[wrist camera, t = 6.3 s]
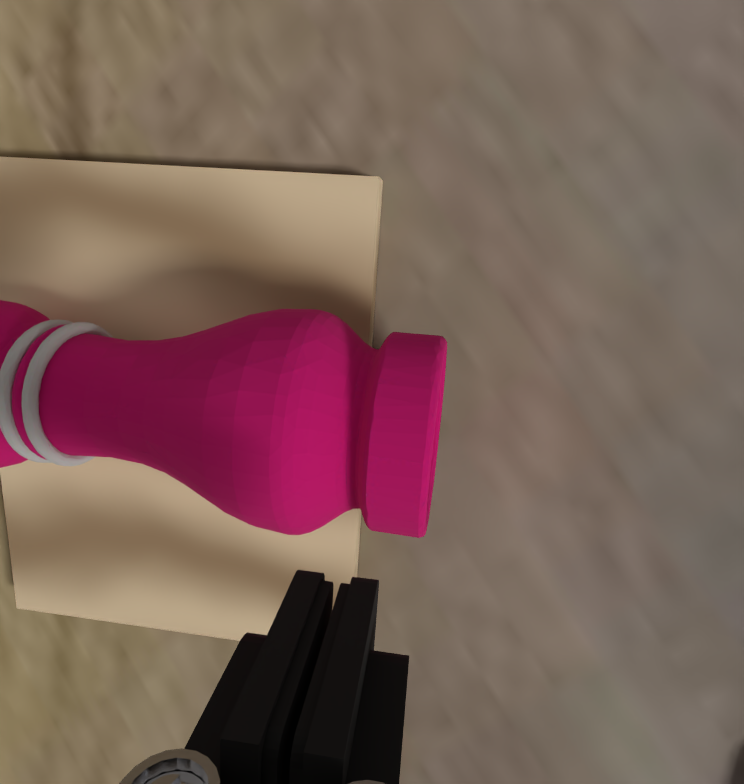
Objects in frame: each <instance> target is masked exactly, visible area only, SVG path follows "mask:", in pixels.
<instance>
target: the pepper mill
mask: <svg viewBox="0 0 744 784" xmlns="http://www.w3.org/2000/svg"><path fill="white" fill-rule="evenodd" d="M446 354H447V341H446V340H445V338H443V337H442V336H435V335H423V334H411V333H399V332H393V333H391V334H390V335H389V336H388V337H387V338H386V340H385V341H384V343H383V344H382V346H381V348H380V349H374V348H372V347H371V346H369V345H368V344H367V343H365V342H364V341H363V340H362V339H361V338H360V337H359V336H358V335H357V334H356V333H355V332H354V330H353V329H352V328H351V327H350V326H349V325H348V324H347V323H345V322H344V321H343V320H341V319H340V318H339V317H338V316H336V315H334V314H332V313H329V312H326V311H322V310H317V309H278V310H272V311H267V312H261V313H256V314H250V315H247V316H244V317H241V318H238V319H235V320H232V321H230V322H227V323H224V324H221V325H218V326H215V327H212V328H209V329H206V330H203V331H200V332H196V333H193V334H190V335H186V336H183V337H176V338H170V339H163V340H124V339H118V338H113V336H112V335H111V334H110V333H108V332H107V331H106V330H105V329H103V328H102V327H100V326H98V325H96V324H93V323H89V322H74V323H73V322H70V321H68V320H59V319H57V320H50V319H49V318H48V317H46V316H45V315H43V314H41V313H40V312H38V311H36V310H35V309H33V308H30V307H28V306H26V305H23V304H19V303H16V302H10V301H3V300H0V468H2V467H6V466H11V465H15V464H19V463H22V462H24V461H26V460H31V461H34V462H40V463H54V464H56V465H61V466H76V465H81V464H83V463H85V462H87V461H89V460H91V459H93V458H94V457H112V458H116V459H121V460H126V461H131V462H136V463H141V464H144V465H146V466H149V467H152V468H154V469H157V470H159V471H162V472H164V473H166V474H168V475H170V476H171V477H173V478H174V479H176V480H178V481H179V482H181V483H183V484H184V485H186V486H187V487H189V488H190V489H192V490H193V491H194V492H196V493H197V494H199V495H200V496H202V497H203V498H205V499H206V500H208V501H209V502H210V503H212V504H213V505H215V506H216V507H218V508H219V509H221V510H222V511H223V512H225V513H227V514H229V515H231V516H233V517H235V518H237V519H239V520H241V521H243V522H245V523H247V524H250V525H252V526H255V527H258V528H262V529H266V530H271V531H275V532H279V533H283V534H287V535H302V534H306V533H310V532H312V531H314V530H316V529H319V528H321V527H322V526H324V525H326V524H327V523H329V522H330V521H332V520H333V519H335V518H337V517H338V516H340V515H341V514H343V513H344V512H347V511H349V510H352V509H361V512H362V515H363V518H364V521H365V523H366V525H367V527H368V528H369V529H370V530H372V531H378V532H385V533H391V534H398V535H404V536H411V537H418V538H419V537H423V536H424V535H425V534H426V530H427V525H428V519H429V513H430V505H431V498H432V491H433V484H434V476H435V467H436V458H437V450H438V440H439V431H440V422H441V412H442V402H443V392H444V381H445V368H446Z"/></svg>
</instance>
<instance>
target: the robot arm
mask: <svg viewBox="0 0 744 784" xmlns="http://www.w3.org/2000/svg"><path fill="white" fill-rule="evenodd" d="M333 587H334V585H333V582H331V581H325V575H324V573H320V572H312V571H305V570H297V571H296V573H295V575H294V577H293V579H292V581H291V584H290V586H289V588H288V590H287V592H286V595H285V597H284V599H283V601H282V603H281V606H280V608H279V610H278V612H277V614H276V617H275V619H274V621H273V623H272V625H271V628H270V630H269V632H268V634H267V635H262V634H255V633H248V632H247V633H246V634H244V636H243V637H242V639H241V640H240V642H239V644H238V646H237V648H236V650H235V652H234V654H233V656H232V658H231V660H230V661H229V663H228V665H227V667H226V669H225V671H224V673H223V675H222V677H221V679H220V681H219V683H218V685H217V687H216V689H215V690H214V692H213V694H212V696H211V698H210V700H209V702H208V704H207V706H206V708H205V710H204V712H203V714H202V716H201V718H200V719H199V721H198V723H197V725H196V727H195V729H194V731H193V733H192V735H191V737H190V739H189V741H188V743H187V745H186V747H185V749H174V750H166V751H163V752H161V753H158V754H156V755H153V756H150V757H149V758H147V759H146V760H144V761H143V762H141V763H140V764H138V765H137V766H135V767H134V768H133V769H132V770H131V771H130V772H129V773H128V774H127V775H126V776H125V777H124V778H123V779H122V781H121V782H120V783H119V784H399V776H400V764H401V751H402V739H403V726H404V714H405V701H406V689H407V676H408V663H409V656H407V655H400V654H394V653H387V652H380V651H374V640H375V627H376V614H377V601H378V588H379V580H374V579H366V578H358V577H352V579H351V582H350V584H346V583H341V584H340V587H339V590H338V593H337V596H336V600H335V603H334V606H333ZM332 607H333V610H332Z"/></svg>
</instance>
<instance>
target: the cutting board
mask: <svg viewBox="0 0 744 784" xmlns="http://www.w3.org/2000/svg"><path fill="white" fill-rule="evenodd" d="M382 186H383V181H382V179H381V178H380V177H376V176H357V175H338V174H319V173H301V172H282V171H263V170H244V169H225V168H206V167H187V166H168V165H150V164H131V163H112V162H93V161H74V160H55V159H36V158H17V157H0V300H3V301H10V302H16V303H19V304H23V305H26V306H28V307H30V308H33V309H35V310H36V311H38V312H40V313H41V314H43V315H45V316H46V317H48V318H49V319H50V320H57V319H59V320H68V321H70V322H73V323H74V322H89V323H93V324H96V325H98V326H100V327H102V328H103V329H105V330H106V331H107V332H108V333H110V334H111V335H112V336H113V338H118V339H124V340H163V339H170V338H176V337H183V336H186V335H190V334H193V333H196V332H200V331H203V330H206V329H209V328H212V327H215V326H218V325H221V324H224V323H227V322H230V321H232V320H235V319H238V318H241V317H244V316H247V315H250V314H256V313H261V312H267V311H272V310H278V309H317V310H322V311H326V312H329V313H332V314H334V315H336V316H338V317H339V318H340V319H341V320H343V321H344V322H345V323H347V324H348V325H349V326H350V327H351V328H352V329H353V330H354V332H355V333H356V334H357V335H358V336H359V337H360V338H361V339H362V340H363V341H364V342H365V343H367V344H368V345H369V346H371V347H372V340H373V325H374V309H375V294H376V279H377V263H378V248H379V232H380V217H381V202H382ZM0 476H1V484H2V492H3V500H4V508H5V516H6V524H7V533H8V541H9V549H10V557H11V565H12V573H13V581H14V589H15V597H16V606H17V608H19V609H26V610H33V611H40V612H47V613H53V614H60V615H67V616H74V617H81V618H88V619H95V620H101V621H108V622H115V623H122V624H129V625H136V626H142V627H149V628H156V629H163V630H170V631H177V632H184V633H190V634H197V635H204V636H211V637H218V638H225V639H232V640H238V641H240V640H241V639H242V637H243V636H244V634H246V633H247V632H248V633H255V634H262V635H267V634H268V632H269V630H270V628H271V625H272V623H273V621H274V619H275V617H276V614H277V612H278V610H279V608H280V606H281V603H282V601H283V599H284V597H285V595H286V592H287V590H288V588H289V586H290V584H291V581H292V579H293V577H294V575H295V573H296V571H297V570H305V571H312V572H320V573H324V575H325V581H331V582H333V585H334V587H333V606H334V603H335V600H336V596H337V593H338V590H339V587H340V584H341V583H346V584H350V582H351V579H352V577H357V570H358V555H359V540H360V524H361V509H352V510H349V511H347V512H344V513H343V514H341V515H340V516H338V517H337V518H335V519H333V520H332V521H330V522H329V523H327V524H326V525H324V526H322V527H321V528H319V529H316V530H314V531H312V532H310V533H306V534H302V535H287V534H283V533H279V532H275V531H271V530H266V529H262V528H258V527H255V526H252V525H250V524H247V523H245V522H243V521H241V520H239V519H237V518H235V517H233V516H231V515H229V514H227V513H225V512H223V511H222V510H221V509H219V508H218V507H216V506H215V505H213V504H212V503H210V502H209V501H208V500H206V499H205V498H203V497H202V496H200V495H199V494H197V493H196V492H194V491H193V490H192V489H190V488H189V487H187V486H186V485H184V484H183V483H181V482H179V481H178V480H176V479H174V478H173V477H171V476H170V475H168V474H166V473H164V472H162V471H159V470H157V469H154V468H152V467H149V466H146V465H144V464H141V463H136V462H131V461H126V460H121V459H116V458H112V457H94V458H93V459H91V460H89V461H87V462H85V463H83V464H81V465H76V466H61V465H56V464H54V463H40V462H34V461H31V460H26V461H24V462H22V463H19V464H15V465H11V466H6V467H2V468H0ZM332 610H333V607H332Z"/></svg>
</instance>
